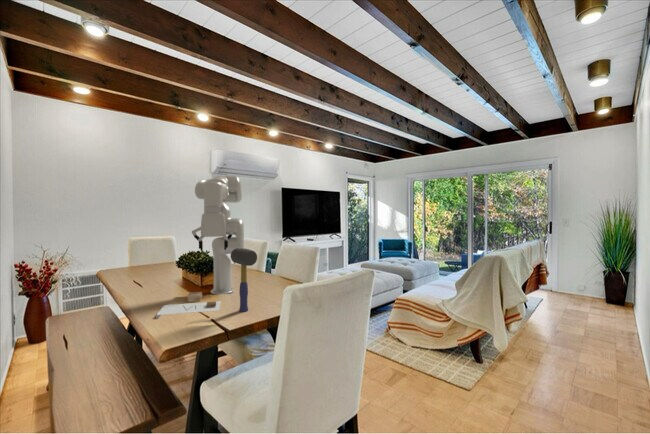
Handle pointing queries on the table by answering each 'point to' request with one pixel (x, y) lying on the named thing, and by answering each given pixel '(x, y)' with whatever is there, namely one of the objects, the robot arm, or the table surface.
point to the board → (186, 308)
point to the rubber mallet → (243, 272)
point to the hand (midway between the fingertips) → (213, 249)
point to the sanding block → (194, 296)
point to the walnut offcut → (210, 304)
